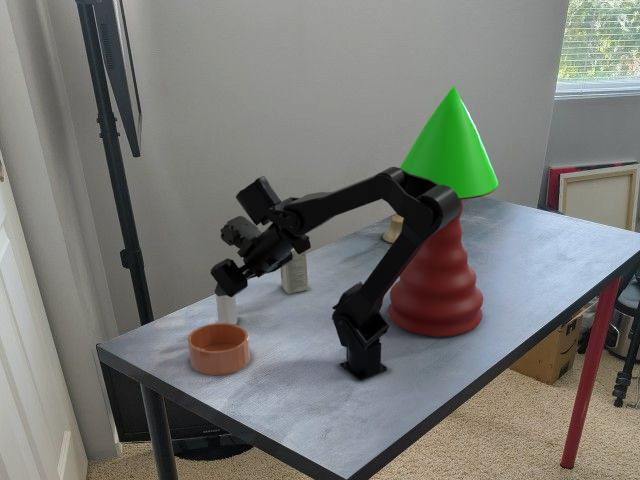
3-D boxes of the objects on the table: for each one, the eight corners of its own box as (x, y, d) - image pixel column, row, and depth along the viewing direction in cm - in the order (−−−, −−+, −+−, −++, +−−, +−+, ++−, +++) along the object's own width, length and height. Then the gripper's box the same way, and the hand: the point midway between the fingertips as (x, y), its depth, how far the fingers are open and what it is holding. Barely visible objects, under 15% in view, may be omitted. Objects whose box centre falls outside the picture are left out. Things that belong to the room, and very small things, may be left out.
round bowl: (260, 362, 137) (259, 340, 134) (207, 381, 131) (205, 359, 128) (232, 339, 144) (229, 317, 141) (180, 356, 138) (177, 334, 136)
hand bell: (421, 238, 187) (426, 176, 178) (399, 247, 182) (402, 183, 173) (398, 229, 192) (401, 168, 182) (376, 237, 187) (378, 175, 178)
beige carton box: (301, 282, 165) (299, 240, 159) (308, 290, 162) (307, 247, 156) (279, 286, 163) (277, 244, 157) (286, 294, 160) (284, 251, 154)
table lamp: (488, 301, 158) (517, 78, 132) (473, 345, 143) (502, 102, 116) (401, 289, 163) (412, 70, 137) (376, 329, 147) (383, 92, 121)
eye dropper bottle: (210, 325, 148) (204, 271, 141) (231, 315, 152) (225, 262, 145) (225, 332, 146) (219, 277, 139) (245, 322, 149) (241, 268, 143)
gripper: (277, 192, 137) (236, 236, 148) (213, 223, 124) (173, 268, 135) (313, 241, 139) (269, 280, 150) (253, 276, 126) (210, 316, 137)
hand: (231, 285), depth 143 cm, fingers open, 9 cm apart
